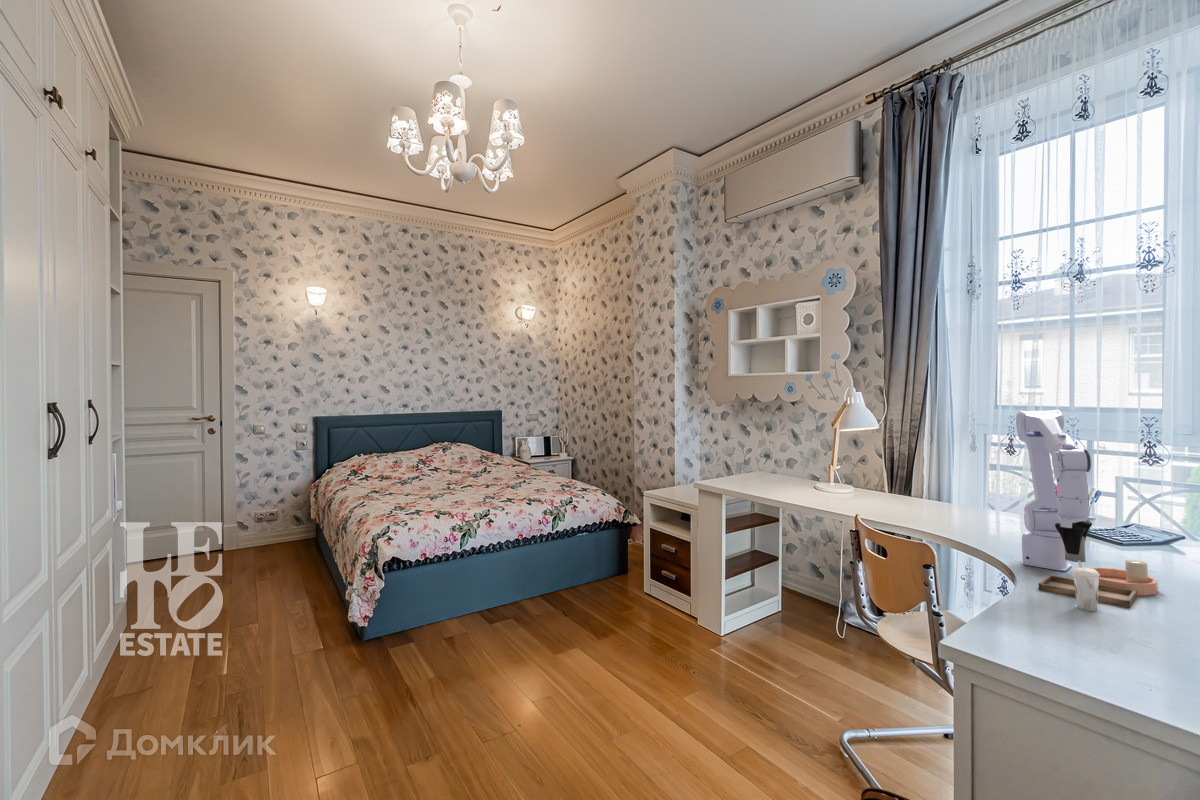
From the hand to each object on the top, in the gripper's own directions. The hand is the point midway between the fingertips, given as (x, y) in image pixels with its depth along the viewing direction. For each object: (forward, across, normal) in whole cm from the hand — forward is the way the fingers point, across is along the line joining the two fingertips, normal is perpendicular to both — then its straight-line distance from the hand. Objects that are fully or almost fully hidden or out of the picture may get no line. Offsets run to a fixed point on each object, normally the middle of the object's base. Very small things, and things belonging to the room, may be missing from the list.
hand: (1074, 552), depth 130 cm
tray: (+9, -3, -2) cm, 10 cm away
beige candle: (+8, +10, -9) cm, 16 cm away
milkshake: (+9, -15, -4) cm, 18 cm away
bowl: (+9, +10, -6) cm, 14 cm away
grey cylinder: (+2, 0, 0) cm, 2 cm away
